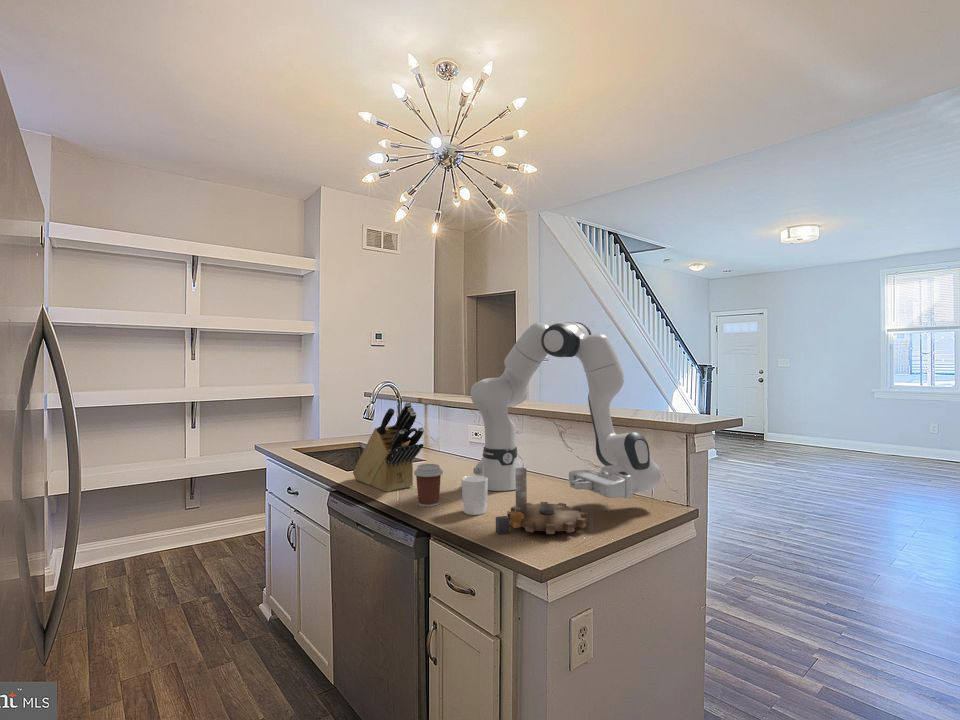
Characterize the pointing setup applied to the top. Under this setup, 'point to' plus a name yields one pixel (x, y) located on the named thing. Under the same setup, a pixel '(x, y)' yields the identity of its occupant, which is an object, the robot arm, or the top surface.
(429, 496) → the coffee cup
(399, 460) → the knife block
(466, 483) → the white cup
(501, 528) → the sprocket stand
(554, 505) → the sprocket
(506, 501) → the top surface
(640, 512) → the top surface
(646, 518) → the top surface
